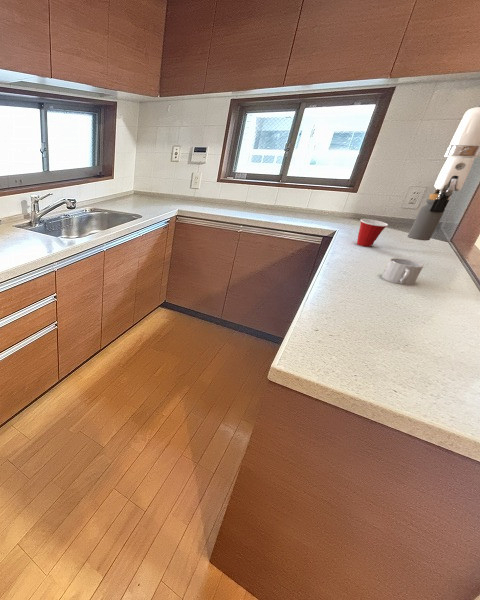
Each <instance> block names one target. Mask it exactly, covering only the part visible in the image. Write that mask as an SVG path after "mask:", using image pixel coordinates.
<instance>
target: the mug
mask: <svg viewBox="0 0 480 600" xmlns="http://www.w3.org/2000/svg"><path fill="white" fill-rule="evenodd" d="M423 268H424V264H423V263H421V262H418V261H415V260H411V259H406V258H399V257H392V258H389V259H388V262H387V263H386V266H385V268H384V270H383V273H382V274H381V278H382V280H383V279H384V280H385V281H388V282H390V283H394V284H397V285H398V284H400V285H405V286H406V285H407V286H411V285H412V286H413V285H414V284H415V283H416V281H417V279H418V278H419V275H420V274H421V271H422V270H423Z"/></svg>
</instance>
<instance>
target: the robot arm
mask: <svg viewBox="0 0 480 600" xmlns="http://www.w3.org/2000/svg"><path fill="white" fill-rule="evenodd" d="M443 157H444V158H447V159H446V160H445V162H444V163H443V165H442V168H441V169H440V172H439V173H438V175H437V178H436V179H435V180H436V181H435V182H434V185H433V187H434V190H433V192H432V194H439V195H438V197H437V199H435V201H434V203H433V205H432V207H431V209H430V212H439V213H442V212H443V211H444V209H445V210H446V208H447V205H448V204H449V202H450V200H451V197H452V195H453V192H459V191H461V190H462V188H463V186H464V184H465V181H466V179H467V177H468V176H469V173H470V171H471V169H472V166H473V163H474V161H475V159H478V158H479V157H480V106H477V107H472V108H469V109H467V110H466V111H465V112H464V114H463V116H462V118H461V120H460V122H459V124H458V126H457V129H456V131H455V133H454V135H453V137H452V139H451V140H450V143H449V145H448V146H447V150H446V151H445V154H444V156H443ZM444 212H445V211H444Z"/></svg>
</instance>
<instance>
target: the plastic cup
mask: <svg viewBox="0 0 480 600" xmlns="http://www.w3.org/2000/svg"><path fill="white" fill-rule="evenodd" d="M388 226H389V224H388V223H386V222H384V221H380V220H376V219H369V218H360V225H359V229H358V235H357V239H356V244H357V245H358V246H361V247H365V248H367V247H368V248H370V247H372V246H373V245H374V243H375V242H376V241H377V239H378V238H379V236H380V235H381V233H382V232H383V231H384V229H385V228H387V227H388Z"/></svg>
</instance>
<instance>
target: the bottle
mask: <svg viewBox="0 0 480 600" xmlns="http://www.w3.org/2000/svg"><path fill="white" fill-rule="evenodd" d="M438 195H439V194H433V193H430V194H429V197H428V198H426V200H425V203H426V204H425V205H422V206H421V207H420V209H419V211H418V213H417V215H416V217H415V219H414V222H413V224H412V226H411V228H410V230H409V232H408V234H407V238H408V239H412V240H418V241H430V240H431V239H432V236H433V235H434V234H435V231H436V228H438V225H439V223H440V221H441V219H442V217H443V216H444V213H445V211H446V208H445V209H444V211H443V212H442V213H439V212H430V209H431V207H432V205H433V203H434V201H435V199H437V197H438Z"/></svg>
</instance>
